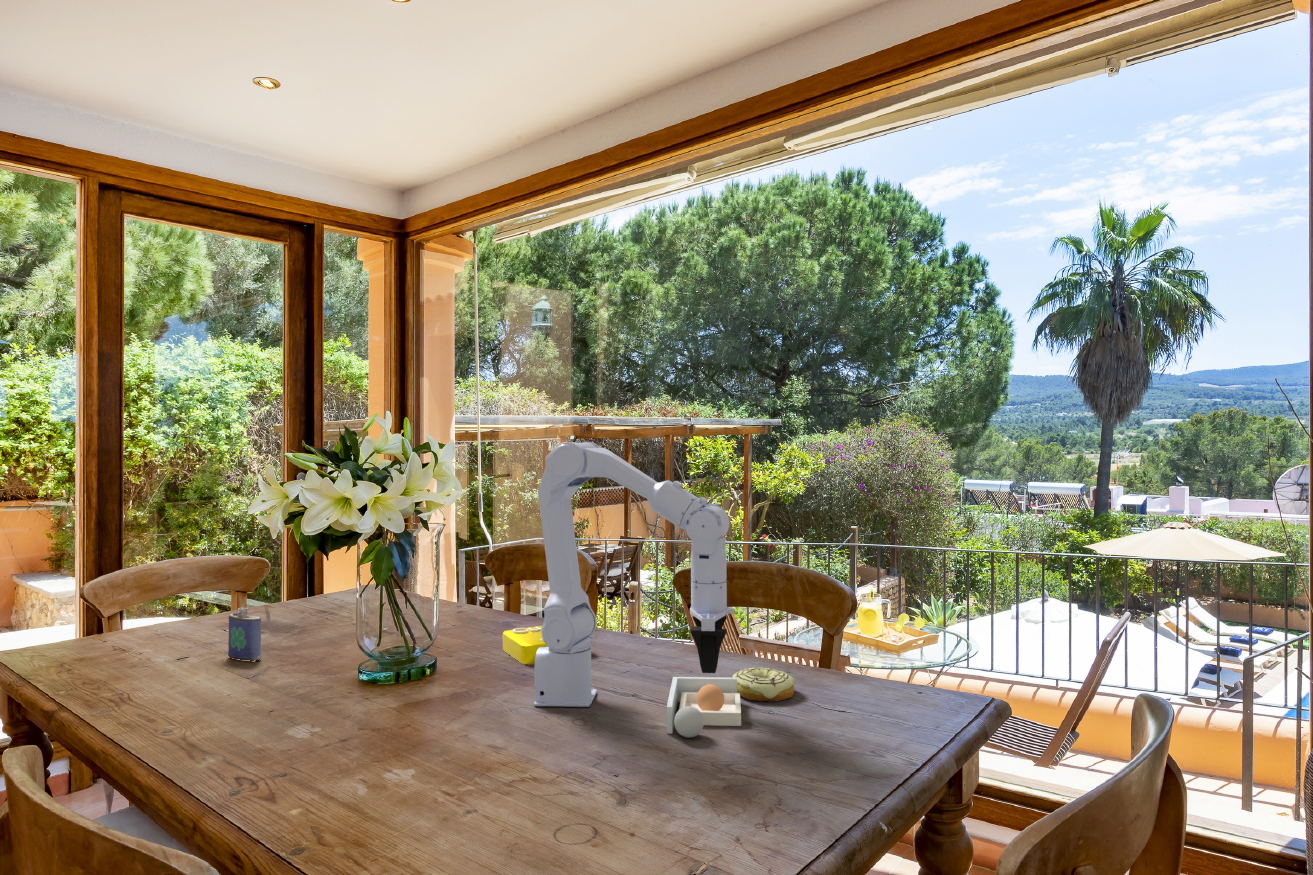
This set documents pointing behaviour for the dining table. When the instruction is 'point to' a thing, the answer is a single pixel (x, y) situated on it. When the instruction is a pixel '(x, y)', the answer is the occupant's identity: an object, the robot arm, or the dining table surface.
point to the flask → (244, 636)
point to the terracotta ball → (710, 698)
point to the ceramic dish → (723, 717)
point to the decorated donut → (764, 684)
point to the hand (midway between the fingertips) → (709, 665)
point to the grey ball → (689, 721)
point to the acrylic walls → (693, 686)
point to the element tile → (523, 643)
